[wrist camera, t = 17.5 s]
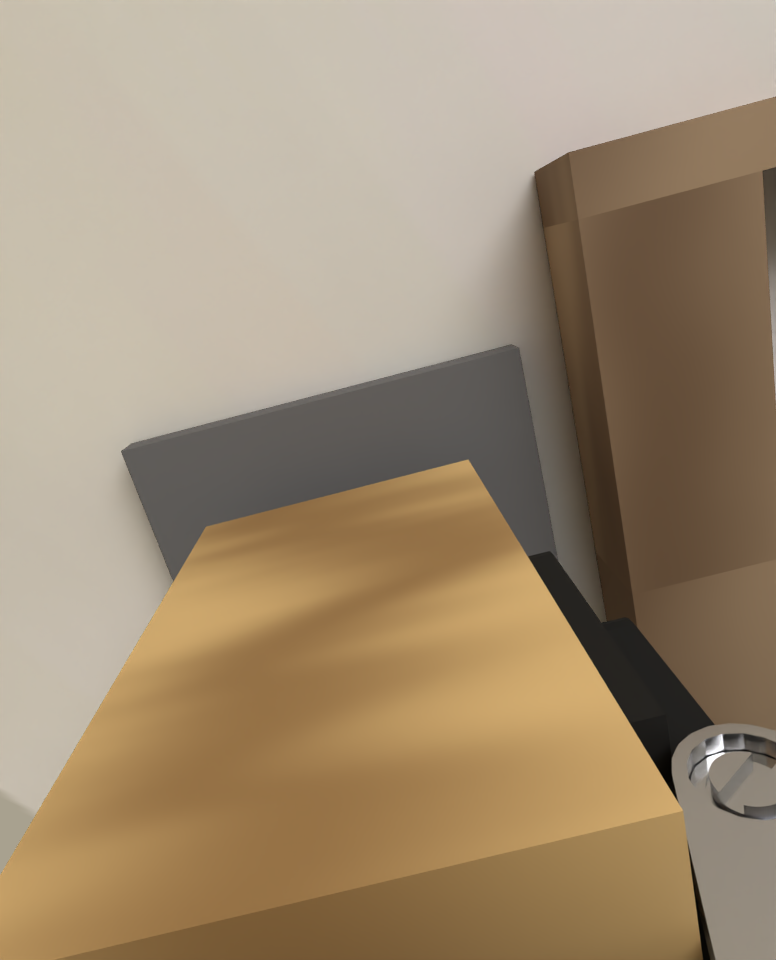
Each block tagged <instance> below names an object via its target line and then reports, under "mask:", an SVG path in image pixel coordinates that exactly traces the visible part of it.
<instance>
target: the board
mask: <svg viewBox="0 0 776 960" xmlns="http://www.w3.org/2000/svg"><path fill="white" fill-rule="evenodd" d="M774 167H776V97H773V98H769V99H765V100H762V101H758V102H754V103H750V104H747V105H743V106H739V107H736V108H732V109H728V110H724V111H721V112H717V113H713V114H710V115H706V116H702V117H698V118H695V119H691V120H687V121H684V122H680V123H676V124H673V125H669V126H665V127H661V128H658V129H654V130H650V131H647V132H643V133H639V134H635V135H632V136H628V137H624V138H621V139H617V140H613V141H609V142H606V143H602V144H598V145H595V146H591V147H587V148H583V149H580V150H576V151H572V152H569V153H567V154H565V155H563V156H562V157H560V158H558V159H556V160H555V161H553V162H551V163H549V164H548V165H546V166H544V167H542V168H540V169H539V170H537V171H535V172H534V173H535V179H536V185H537V191H538V197H539V204H540V210H541V216H542V222H543V228H544V235H545V241H546V247H547V253H548V259H549V266H550V272H551V278H552V284H553V290H554V297H555V303H556V309H557V315H558V321H559V328H560V334H561V340H562V346H563V352H564V358H565V365H566V371H567V377H568V383H569V389H570V396H571V402H572V408H573V414H574V420H575V427H576V433H577V439H578V445H579V451H580V458H581V464H582V470H583V476H584V482H585V489H586V495H587V501H588V507H589V513H590V519H591V526H592V532H593V538H594V544H595V550H596V557H597V563H598V569H599V575H600V581H601V588H602V594H603V600H604V606H605V612H606V619H607V621H611V620H615V619H620V618H624V617H626V618H629V619H630V620H631V621H632V622H633V623H634V624H635V625H636V627H637V628H638V629H639V630H640V632H641V633H642V634H643V635H644V637H645V638H646V639H647V640H648V642H649V643H650V644H651V645H652V647H653V648H654V649H655V650H656V652H657V653H658V654H659V655H660V657H661V658H662V659H663V660H664V662H665V663H666V664H667V665H668V667H669V668H670V669H671V670H672V672H673V673H674V674H675V675H676V677H677V678H678V679H679V680H680V682H681V683H682V684H683V685H684V687H685V688H686V689H687V690H688V692H689V693H690V694H691V695H692V697H693V698H694V699H695V700H696V702H697V703H698V704H699V706H700V707H701V708H702V709H703V711H704V712H705V713H706V714H707V716H708V717H709V718H710V719H711V721H712V722H713V723H714V724H715V725H720V724H727V723H733V724H749V725H755V726H759V727H763V728H767V729H771V730H774V731H776V400H775V383H774V365H773V347H772V330H771V312H770V295H769V277H768V260H767V242H766V225H765V207H764V189H763V172H762V171H763V170H767V169H770V168H774Z"/></svg>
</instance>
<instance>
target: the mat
mask: <svg viewBox="0 0 776 960" xmlns="http://www.w3.org/2000/svg"><path fill="white" fill-rule="evenodd" d="M121 453H122V455H123V458H124V460H125V462H126V465H127V467H128V470H129V472H130V475H131V477H132V480H133V482H134V485H135V487H136V490H137V492H138V495H139V497H140V500H141V502H142V505H143V507H144V510H145V512H146V515H147V517H148V520H149V522H150V525H151V527H152V530H153V532H154V535H155V537H156V540H157V542H158V544H159V547H160V549H161V552H162V554H163V557H164V559H165V562H166V564H167V567H168V569H169V572H170V574H171V577H172V579H173V582H174V580H175V578H176V577H177V575H178V573H179V571H180V570H181V568H182V566H183V565H184V563H185V561H186V560H187V558H188V556H189V555H190V553H191V551H192V549H193V548H194V546H195V544H196V543H197V541H198V539H199V538H200V536H201V534H202V533H203V531H204V529H205V527H207V526H211V525H215V524H219V523H222V522H226V521H230V520H234V519H238V518H242V517H246V516H250V515H254V514H258V513H261V512H265V511H269V510H273V509H277V508H281V507H285V506H289V505H293V504H297V503H300V502H304V501H308V500H312V499H316V498H320V497H324V496H328V495H332V494H336V493H339V492H343V491H347V490H351V489H355V488H359V487H363V486H367V485H371V484H375V483H378V482H382V481H386V480H390V479H394V478H398V477H402V476H406V475H410V474H414V473H417V472H421V471H425V470H429V469H433V468H437V467H441V466H445V465H449V464H453V463H456V462H460V461H464V460H469V461H470V463H471V465H472V466H473V468H474V470H475V471H476V473H477V474H478V476H479V478H480V479H481V481H482V483H483V484H484V486H485V488H486V489H487V491H488V492H489V494H490V496H491V497H492V499H493V501H494V502H495V504H496V506H497V507H498V509H499V510H500V512H501V514H502V515H503V517H504V519H505V520H506V522H507V524H508V525H509V527H510V528H511V530H512V532H513V533H514V535H515V537H516V538H517V540H518V542H519V543H520V545H521V546H522V548H523V550H524V551H525V553H526V555H527V556H531V555H535V554H539V553H543V552H547V551H551V552H552V554H553V555H554V556H555V558H556V559H557V561H558V558H557V553H556V547H555V542H554V537H553V531H552V526H551V520H550V515H549V509H548V504H547V498H546V493H545V488H544V482H543V477H542V471H541V466H540V460H539V455H538V449H537V444H536V438H535V433H534V428H533V422H532V417H531V411H530V406H529V400H528V395H527V389H526V384H525V378H524V373H523V368H522V362H521V357H520V351H519V348H518V347H516V346H514V345H508V346H504V347H500V348H497V349H493V350H489V351H485V352H481V353H477V354H474V355H470V356H466V357H462V358H458V359H454V360H450V361H447V362H443V363H439V364H435V365H431V366H427V367H424V368H420V369H416V370H412V371H408V372H404V373H401V374H397V375H393V376H389V377H385V378H381V379H378V380H374V381H370V382H366V383H362V384H358V385H354V386H351V387H347V388H343V389H339V390H335V391H331V392H328V393H324V394H320V395H316V396H312V397H308V398H305V399H301V400H297V401H293V402H289V403H285V404H282V405H278V406H274V407H270V408H266V409H262V410H258V411H255V412H251V413H247V414H243V415H239V416H235V417H232V418H228V419H224V420H220V421H216V422H212V423H209V424H205V425H201V426H197V427H193V428H189V429H186V430H182V431H178V432H174V433H170V434H166V435H162V436H159V437H155V438H151V439H147V440H143V441H139V442H136V443H132V444H130V445H129V446H128V447H126V448H125V449H124V450H122V451H121Z"/></svg>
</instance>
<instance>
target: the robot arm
mask: <svg viewBox="0 0 776 960" xmlns="http://www.w3.org/2000/svg"><path fill="white" fill-rule="evenodd" d="M528 558H529V560H530V561H531V563H532V564H533V566H534V568H535V569H536V571H537V573H538V574H539V576H540V577H541V579H542V581H543V582H544V584H545V586H546V587H547V589H548V591H549V592H550V594H551V595H552V597H553V599H554V600H555V602H556V604H557V605H558V607H559V609H560V610H561V612H562V613H563V615H564V617H565V618H566V620H567V622H568V623H569V625H570V627H571V628H572V630H573V631H574V633H575V635H576V636H577V638H578V640H579V641H580V643H581V645H582V646H583V648H584V649H585V651H586V653H587V654H588V656H589V658H590V659H591V661H592V663H593V664H594V666H595V667H596V669H597V671H598V672H599V674H600V676H601V677H602V679H603V680H604V682H605V684H606V685H607V687H608V689H609V690H610V692H611V694H612V695H613V697H614V698H615V700H616V702H617V703H618V705H619V707H620V708H621V710H622V712H623V713H624V715H625V716H626V718H627V720H628V721H629V723H630V725H631V726H632V728H633V730H634V731H635V733H636V734H637V736H638V738H639V739H640V741H641V743H642V744H643V746H644V748H645V749H646V751H647V752H648V754H649V756H650V757H651V759H652V761H653V762H654V764H655V766H656V767H657V769H658V770H659V772H660V774H661V775H662V777H663V779H664V780H665V782H666V784H667V785H668V787H669V788H670V790H671V792H672V793H673V795H674V797H675V798H676V800H677V801H678V803H679V805H680V806H681V808H682V810H683V813H684V821H685V828H686V836H687V843H688V851H689V858H690V866H691V873H692V881H693V888H694V896H695V903H696V911H697V918H698V926H699V933H700V941H701V948H702V956H703V960H776V731H774V730H771V729H767V728H763V727H759V726H755V725H749V724H733V723H727V724H720V725H715V724H714V723H713V722H712V721H711V719H710V718H709V717H708V716H707V714H706V713H705V712H704V711H703V709H702V708H701V707H700V706H699V704H698V703H697V702H696V700H695V699H694V698H693V697H692V695H691V694H690V693H689V692H688V690H687V689H686V688H685V687H684V685H683V684H682V683H681V682H680V680H679V679H678V678H677V677H676V675H675V674H674V673H673V672H672V670H671V669H670V668H669V667H668V665H667V664H666V663H665V662H664V660H663V659H662V658H661V657H660V655H659V654H658V653H657V652H656V650H655V649H654V648H653V647H652V645H651V644H650V643H649V642H648V640H647V639H646V638H645V637H644V635H643V634H642V633H641V632H640V630H639V629H638V628H637V627H636V625H635V624H634V623H633V622H632V621H631V620H630V619H629V618H626V617H624V618H620V619H615V620H611V621H607V622H603V623H601V622H600V620H599V619H598V617H597V616H596V614H595V613H594V612H593V610H592V609H591V607H590V606H589V605H588V603H587V602H586V600H585V599H584V597H583V596H582V595H581V593H580V592H579V590H578V589H577V588H576V586H575V585H574V583H573V582H572V580H571V579H570V578H569V576H568V575H567V573H566V572H565V571H564V569H563V568H562V566H561V565H560V563H559V562H558V561H557V559H556V558H555V556H554V555H553V554H552V552H551V551H547V552H543V553H539V554H535V555H531V556H528Z"/></svg>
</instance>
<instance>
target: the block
mask: <svg viewBox="0 0 776 960" xmlns="http://www.w3.org/2000/svg"><path fill="white" fill-rule="evenodd" d="M0 960H703V956H702V948H701V941H700V933H699V926H698V918H697V911H696V903H695V896H694V888H693V881H692V873H691V866H690V858H689V851H688V843H687V836H686V828H685V821H684V813H683V810H682V808H681V806H680V805H679V803H678V801H677V800H676V798H675V797H674V795H673V793H672V792H671V790H670V788H669V787H668V785H667V784H666V782H665V780H664V779H663V777H662V775H661V774H660V772H659V770H658V769H657V767H656V766H655V764H654V762H653V761H652V759H651V757H650V756H649V754H648V752H647V751H646V749H645V748H644V746H643V744H642V743H641V741H640V739H639V738H638V736H637V734H636V733H635V731H634V730H633V728H632V726H631V725H630V723H629V721H628V720H627V718H626V716H625V715H624V713H623V712H622V710H621V708H620V707H619V705H618V703H617V702H616V700H615V698H614V697H613V695H612V694H611V692H610V690H609V689H608V687H607V685H606V684H605V682H604V680H603V679H602V677H601V676H600V674H599V672H598V671H597V669H596V667H595V666H594V664H593V663H592V661H591V659H590V658H589V656H588V654H587V653H586V651H585V649H584V648H583V646H582V645H581V643H580V641H579V640H578V638H577V636H576V635H575V633H574V631H573V630H572V628H571V627H570V625H569V623H568V622H567V620H566V618H565V617H564V615H563V613H562V612H561V610H560V609H559V607H558V605H557V604H556V602H555V600H554V599H553V597H552V595H551V594H550V592H549V591H548V589H547V587H546V586H545V584H544V582H543V581H542V579H541V577H540V576H539V574H538V573H537V571H536V569H535V568H534V566H533V564H532V563H531V561H530V560H529V558H528V556H527V555H526V553H525V551H524V550H523V548H522V546H521V545H520V543H519V542H518V540H517V538H516V537H515V535H514V533H513V532H512V530H511V528H510V527H509V525H508V524H507V522H506V520H505V519H504V517H503V515H502V514H501V512H500V510H499V509H498V507H497V506H496V504H495V502H494V501H493V499H492V497H491V496H490V494H489V492H488V491H487V489H486V488H485V486H484V484H483V483H482V481H481V479H480V478H479V476H478V474H477V473H476V471H475V470H474V468H473V466H472V465H471V463H470V461H469V460H464V461H460V462H456V463H453V464H449V465H445V466H441V467H437V468H433V469H429V470H425V471H421V472H417V473H414V474H410V475H406V476H402V477H398V478H394V479H390V480H386V481H382V482H378V483H375V484H371V485H367V486H363V487H359V488H355V489H351V490H347V491H343V492H339V493H336V494H332V495H328V496H324V497H320V498H316V499H312V500H308V501H304V502H300V503H297V504H293V505H289V506H285V507H281V508H277V509H273V510H269V511H265V512H261V513H258V514H254V515H250V516H246V517H242V518H238V519H234V520H230V521H226V522H222V523H219V524H215V525H211V526H207V527H205V529H204V531H203V533H202V534H201V536H200V538H199V539H198V541H197V543H196V544H195V546H194V548H193V549H192V551H191V553H190V555H189V556H188V558H187V560H186V561H185V563H184V565H183V566H182V568H181V570H180V571H179V573H178V575H177V577H176V578H175V580H174V582H173V583H172V585H171V587H170V588H169V590H168V592H167V594H166V595H165V597H164V599H163V600H162V602H161V604H160V605H159V607H158V609H157V610H156V612H155V614H154V616H153V617H152V619H151V621H150V622H149V624H148V626H147V627H146V629H145V631H144V632H143V634H142V636H141V638H140V639H139V641H138V643H137V644H136V646H135V648H134V649H133V651H132V653H131V654H130V656H129V658H128V660H127V661H126V663H125V665H124V666H123V668H122V670H121V671H120V673H119V675H118V676H117V678H116V680H115V682H114V683H113V685H112V687H111V688H110V690H109V692H108V693H107V695H106V697H105V698H104V700H103V702H102V704H101V705H100V707H99V709H98V710H97V712H96V714H95V715H94V717H93V719H92V720H91V722H90V724H89V726H88V727H87V729H86V731H85V732H84V734H83V736H82V737H81V739H80V741H79V742H78V744H77V746H76V748H75V749H74V751H73V753H72V754H71V756H70V758H69V759H68V761H67V763H66V765H65V766H64V768H63V770H62V771H61V773H60V775H59V776H58V778H57V780H56V781H55V783H54V785H53V787H52V788H51V790H50V792H49V793H48V795H47V797H46V798H45V800H44V802H43V803H42V805H41V807H40V809H39V810H38V812H37V814H36V815H35V817H34V819H33V821H32V822H31V824H30V826H29V827H28V829H27V831H26V832H25V834H24V836H23V837H22V839H21V841H20V842H19V844H18V846H17V848H16V849H15V851H14V853H13V854H12V856H11V858H10V860H9V861H8V863H7V865H6V866H5V868H4V869H3V871H2V873H1V875H0Z"/></svg>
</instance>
